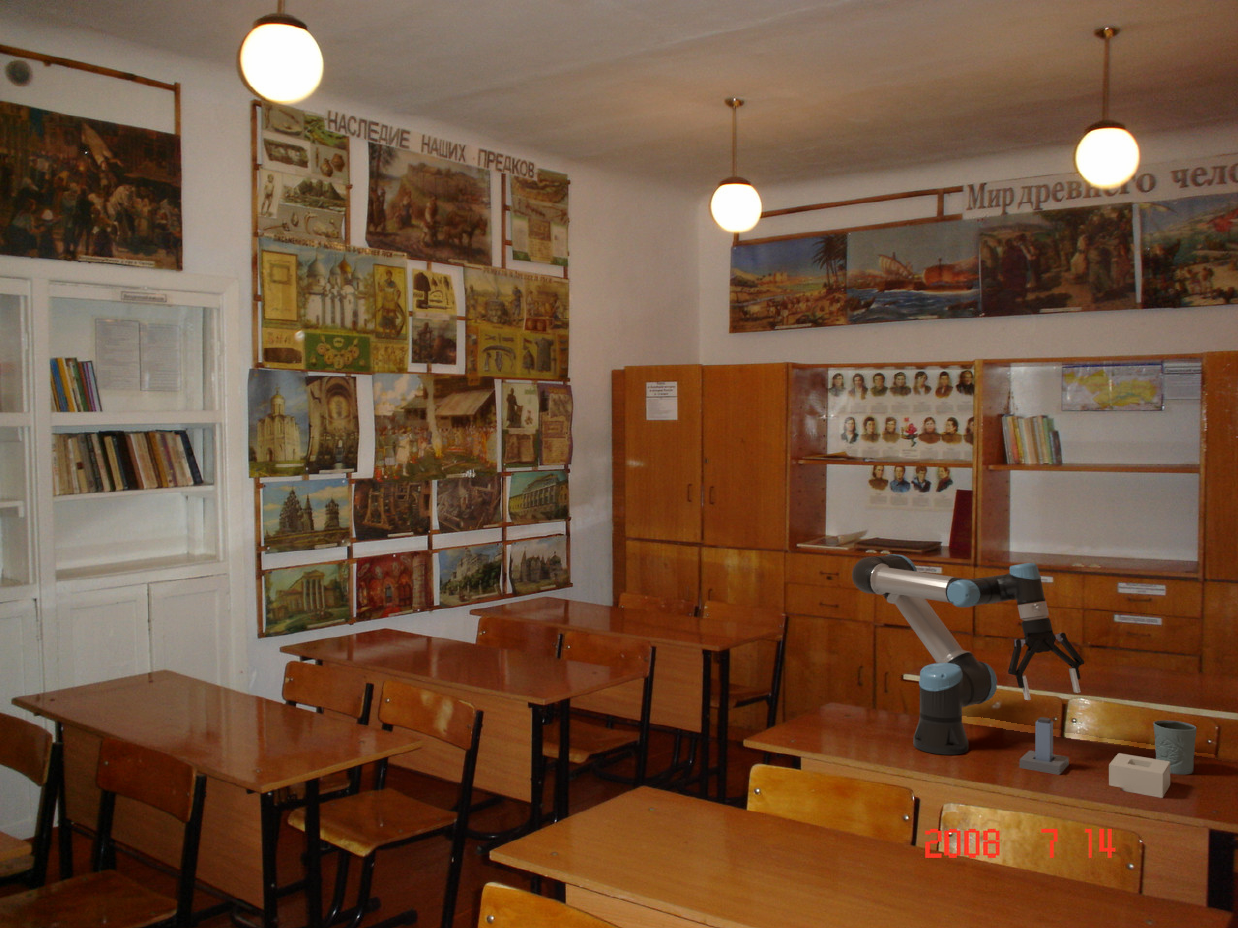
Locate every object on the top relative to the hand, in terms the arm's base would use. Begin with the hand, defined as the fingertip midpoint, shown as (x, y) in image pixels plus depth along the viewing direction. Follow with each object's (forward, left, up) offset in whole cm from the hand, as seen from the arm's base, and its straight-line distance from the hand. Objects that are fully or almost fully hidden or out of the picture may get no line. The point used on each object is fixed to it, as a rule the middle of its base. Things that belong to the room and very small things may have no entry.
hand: (1052, 696), depth 270 cm
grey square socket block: (0, -8, -18) cm, 20 cm away
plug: (0, -8, -18) cm, 19 cm away
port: (+23, -8, -18) cm, 30 cm away
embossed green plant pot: (+28, +13, -19) cm, 36 cm away
